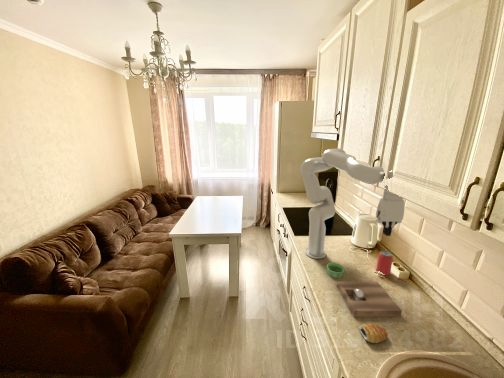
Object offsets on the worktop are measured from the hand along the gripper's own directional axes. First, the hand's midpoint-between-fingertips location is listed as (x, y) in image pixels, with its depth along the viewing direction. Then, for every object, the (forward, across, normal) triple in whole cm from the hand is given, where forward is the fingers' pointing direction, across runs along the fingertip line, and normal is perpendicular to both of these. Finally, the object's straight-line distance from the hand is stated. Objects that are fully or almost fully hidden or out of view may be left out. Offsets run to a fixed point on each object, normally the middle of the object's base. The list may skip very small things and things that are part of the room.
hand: (386, 234), depth 99 cm
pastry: (+30, +15, +28) cm, 44 cm away
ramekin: (+29, +17, -11) cm, 36 cm away
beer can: (+29, -10, -12) cm, 33 cm away
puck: (+27, +12, +7) cm, 30 cm away
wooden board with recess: (+29, +10, +8) cm, 32 cm away
